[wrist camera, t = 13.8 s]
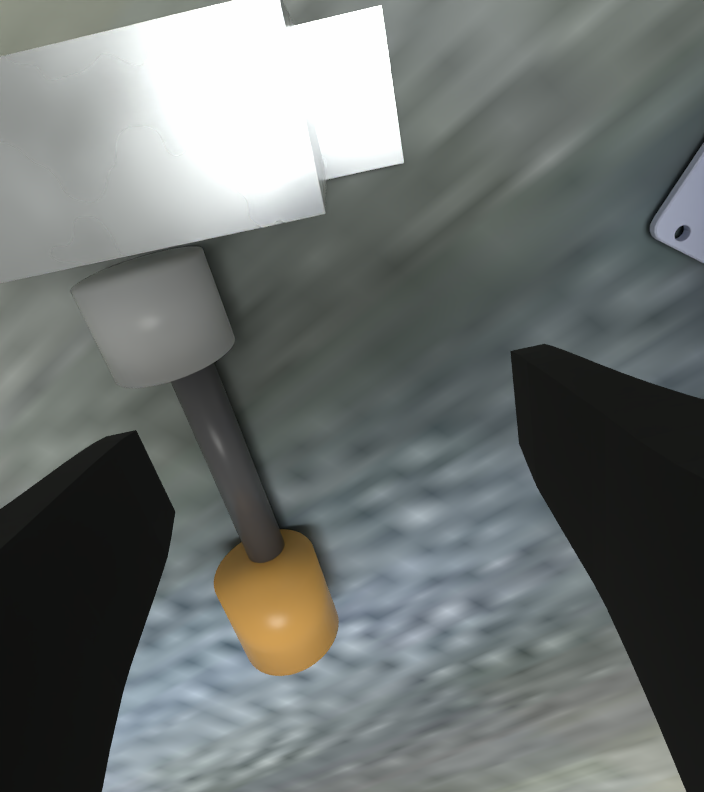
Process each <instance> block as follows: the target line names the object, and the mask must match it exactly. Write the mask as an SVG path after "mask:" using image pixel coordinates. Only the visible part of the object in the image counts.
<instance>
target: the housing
mask: <svg viewBox="0 0 704 792" xmlns="http://www.w3.org/2000/svg"><path fill="white" fill-rule="evenodd" d="M400 163H404V159H403V152H402V145H401V138H400V131H399V124H398V117H397V110H396V103H395V96H394V89H393V82H392V75H391V68H390V61H389V54H388V47H387V41H386V34H385V27H384V20H383V13H382V6H377V7H372V8H368V9H364V10H360V11H355V12H351V13H347V14H343V15H338V16H334V17H330V18H326V19H321V20H317V21H313V22H308V23H304V24H300V25H296V26H294V24H293V21H292V19H291V17H290V15H289V13H288V11H287V9H286V7H285V5H284V3H283V0H234V1H230V2H225V3H221V4H217V5H213V6H209V7H205V8H200V9H196V10H192V11H188V12H184V13H180V14H175V15H171V16H167V17H163V18H159V19H155V20H150V21H146V22H142V23H138V24H134V25H130V26H125V27H121V28H117V29H113V30H109V31H104V32H100V33H96V34H92V35H88V36H84V37H79V38H75V39H71V40H67V41H63V42H59V43H54V44H50V45H46V46H42V47H38V48H34V49H29V50H25V51H21V52H17V53H13V54H8V55H4V56H0V283H4V282H9V281H13V280H18V279H23V278H28V277H32V276H37V275H42V274H46V273H51V272H56V271H60V270H65V269H70V268H74V267H79V266H84V265H88V264H93V263H98V262H102V261H107V260H112V259H117V258H121V257H126V256H131V255H135V254H140V253H145V252H149V251H154V250H159V249H163V248H168V247H173V246H177V245H182V244H187V243H191V242H196V241H201V240H205V239H210V238H215V237H220V236H224V235H229V234H234V233H238V232H243V231H248V230H252V229H257V228H262V227H266V226H271V225H276V224H280V223H285V222H290V221H294V220H299V219H304V218H309V217H313V216H318V215H323V214H325V213H326V180H327V179H331V178H336V177H340V176H345V175H350V174H354V173H359V172H364V171H368V170H373V169H377V168H382V167H387V166H391V165H396V164H400Z"/></svg>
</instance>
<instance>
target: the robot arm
mask: <svg viewBox="0 0 704 792" xmlns="http://www.w3.org/2000/svg"><path fill="white" fill-rule="evenodd" d="M680 226H684V231H683V234H682V235H681V236H680V237H678V238H676V239H675V235H674V234H675V232H676V230H677V229H678V228H679V227H680ZM650 233H651V235H652V236H653V237H654V238H655V239H656V240H658V241H660V242H662V243H664V244H666V245H668V246H670V247H672V248H674V249H676V250H678V251H680V252H682V253H684V254H686V255H688V256H690V257H692V258H694V259H696V260H698V261H700V262H702V263H704V143H703V144H702V146H701V147H700V149H699V150H698V152H697V153H696V155H695V156H694V158H693V159H692V161H691V162H690V164H689V165H688V167H687V168H686V170H685V171H684V173H683V174H682V176H681V177H680V179H679V180H678V182H677V183H676V185H675V186H674V188H673V189H672V191H671V192H670V194H669V195H668V197H667V198H666V200H665V201H664V203H663V204H662V206H661V207H660V209H659V210H658V212H657V213H656V215H655V216H654V218H653V220H652V222H651V224H650ZM511 362H512V372H513V383H514V394H515V405H516V416H517V426H518V437H519V444H520V447H521V449H522V452H523V454H524V457H525V460H526V462H527V465H528V467H529V469H530V472H531V474H532V476H533V479H534V481H535V483H536V486H537V488H538V489H539V491H540V493H541V495H542V496H543V498H544V500H545V502H546V503H547V505H548V507H549V509H550V510H551V512H552V514H553V515H554V517H555V519H556V521H557V522H558V524H559V526H560V527H561V529H562V531H563V532H564V534H565V536H566V537H567V539H568V541H569V542H570V544H571V546H572V548H573V549H574V551H575V553H576V554H577V556H578V558H579V559H580V561H581V563H582V564H583V566H584V568H585V570H586V571H587V573H588V575H589V576H590V578H591V580H592V581H593V583H594V585H595V587H596V589H597V591H598V592H599V594H600V596H601V598H602V600H603V602H604V604H605V606H606V608H607V610H608V612H609V614H610V616H611V619H612V621H613V623H614V625H615V627H616V629H617V632H618V634H619V636H620V638H621V640H622V643H623V645H624V647H625V649H626V651H627V654H628V656H629V658H630V660H631V662H632V665H633V667H634V669H635V672H636V674H637V676H638V678H639V681H640V683H641V685H642V688H643V690H644V692H645V694H646V697H647V699H648V701H649V704H650V706H651V708H652V711H653V713H654V715H655V717H656V720H657V722H658V724H659V727H660V729H661V732H662V734H663V736H664V739H665V741H666V744H667V746H668V748H669V751H670V753H671V756H672V758H673V760H674V763H675V765H676V768H677V770H678V773H679V775H680V777H681V780H682V782H683V785H684V787H685V789H686V792H704V399H700V398H697V397H693V396H690V395H686V394H683V393H680V392H677V391H674V390H670V389H667V388H664V387H661V386H658V385H655V384H652V383H649V382H646V381H643V380H640V379H637V378H634V377H632V376H629V375H626V374H624V373H621V372H618V371H616V370H613V369H610V368H608V367H605V366H603V365H600V364H598V363H595V362H593V361H590V360H588V359H585V358H583V357H580V356H578V355H575V354H572V353H570V352H567V351H565V350H562V349H559V348H556V347H553V346H550V345H546V344H542V345H537V346H532V347H527V348H523V349H518V350H513V351H511ZM174 517H175V510H174V508H173V506H172V504H171V502H170V500H169V498H168V495H167V493H166V491H165V489H164V487H163V485H162V483H161V481H160V479H159V477H158V475H157V473H156V470H155V468H154V466H153V464H152V462H151V460H150V458H149V456H148V454H147V452H146V450H145V448H144V445H143V443H142V441H141V439H140V437H139V435H138V433H137V431H136V430H135V431H130V432H125V433H121V434H116V435H111V436H106V437H105V438H103V439H101V440H99V441H97V442H95V443H93V444H92V445H90V446H89V447H87V448H85V449H84V450H82V451H81V452H79V453H78V454H77V455H75V456H74V457H72V458H71V459H69V460H68V461H66V462H65V463H64V464H62V465H61V466H60V467H58V468H57V469H55V470H54V471H53V472H51V473H50V474H48V475H47V476H46V477H44V478H43V479H42V480H40V481H39V482H37V483H36V484H35V485H33V486H32V487H31V488H29V489H28V490H27V491H25V492H24V493H22V494H21V495H20V496H18V497H17V498H16V499H14V500H13V501H11V502H10V503H8V504H7V505H6V506H4V507H3V508H1V509H0V792H102V788H103V783H104V778H105V773H106V767H107V762H108V757H109V752H110V747H111V743H112V738H113V734H114V730H115V725H116V721H117V716H118V712H119V708H120V703H121V699H122V694H123V690H124V687H125V684H126V680H127V677H128V674H129V670H130V667H131V664H132V661H133V658H134V655H135V652H136V649H137V646H138V643H139V640H140V637H141V635H142V632H143V629H144V626H145V623H146V620H147V617H148V614H149V611H150V608H151V605H152V603H153V600H154V597H155V594H156V591H157V588H158V585H159V582H160V579H161V576H162V573H163V570H164V566H165V563H166V560H167V557H168V552H169V546H170V541H171V536H172V530H173V523H174Z"/></svg>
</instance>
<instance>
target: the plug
mask: <svg viewBox="0 0 704 792" xmlns="http://www.w3.org/2000/svg"><path fill="white" fill-rule="evenodd" d="M71 293H72V295H73V297H74V299H75V301H76V303H77V305H78V307H79V309H80V311H81V313H82V315H83V317H84V319H85V321H86V323H87V325H88V327H89V330H90V332H91V334H92V336H93V338H94V340H95V342H96V344H97V346H98V348H99V350H100V352H101V354H102V356H103V358H104V360H105V362H106V364H107V366H108V368H109V370H110V372H111V374H112V376H113V378H114V380H115V382H116V383H117V384H118V385H120V386H122V387H126V388H143V387H150V386H155V385H160V384H164V383H168V382H171V383H172V386H173V388H174V390H175V392H176V395H177V397H178V399H179V401H180V404H181V406H182V408H183V410H184V413H185V415H186V417H187V420H188V422H189V424H190V426H191V429H192V431H193V433H194V435H195V438H196V440H197V442H198V444H199V447H200V449H201V451H202V453H203V456H204V458H205V460H206V463H207V465H208V467H209V469H210V472H211V474H212V476H213V478H214V481H215V483H216V485H217V487H218V490H219V492H220V494H221V496H222V499H223V501H224V503H225V505H226V508H227V510H228V512H229V515H230V517H231V519H232V521H233V524H234V526H235V528H236V530H237V533H238V535H239V537H240V539H241V543H240V544H238V545H237V546H236V547H234V548H233V549H232V550H231V551H230V552H229V553H228V554H227V555H226V556H225V557H224V559H223V560H222V561H221V563H220V565H219V566H218V569H217V571H216V574H215V577H214V589H215V592H216V595H217V597H218V599H219V601H220V603H221V605H222V607H223V609H224V611H225V613H226V615H227V617H228V619H229V621H230V623H231V625H232V627H233V629H234V631H235V633H236V635H237V637H238V639H239V641H240V643H241V645H242V647H243V649H244V651H245V653H246V655H247V657H248V659H249V661H250V662H251V663H252V665H253V666H254V667H255V668H256V669H258V670H259V671H261V672H263V673H265V674H269V675H275V676H284V675H291V674H294V673H298V672H300V671H303V670H305V669H307V668H309V667H310V666H312V665H313V664H315V663H316V662H317V661H318V660H320V659H321V658H322V657H323V656H324V655H325V654H326V652H327V651H328V650H329V649H330V647H331V645H332V644H333V642H334V640H335V638H336V635H337V631H338V622H339V621H338V615H337V611H336V609H335V606H334V603H333V600H332V598H331V595H330V592H329V589H328V587H327V584H326V581H325V578H324V575H323V573H322V570H321V567H320V564H319V562H318V559H317V556H316V553H315V551H314V548H313V545H312V543H311V542H310V540H309V539H308V538H307V537H306V536H305V535H303V534H301V533H299V532H297V531H293V530H287V529H279V527H278V524H277V522H276V519H275V517H274V514H273V511H272V509H271V506H270V504H269V501H268V499H267V496H266V494H265V491H264V489H263V486H262V483H261V481H260V478H259V476H258V473H257V471H256V468H255V466H254V463H253V461H252V458H251V455H250V453H249V450H248V448H247V445H246V443H245V440H244V438H243V435H242V433H241V430H240V427H239V425H238V422H237V420H236V417H235V415H234V412H233V410H232V407H231V405H230V402H229V399H228V397H227V394H226V392H225V389H224V387H223V384H222V382H221V379H220V377H219V374H218V371H217V369H216V366H215V364H214V362H215V361H217V360H218V359H220V358H221V357H222V356H224V355H225V354H226V353H227V352H228V351H229V350H230V349H231V348H232V346H233V345H234V343H235V336H234V334H233V331H232V328H231V325H230V323H229V320H228V317H227V314H226V312H225V309H224V306H223V303H222V301H221V298H220V295H219V292H218V290H217V287H216V284H215V281H214V279H213V276H212V273H211V271H210V268H209V265H208V262H207V260H206V257H205V254H204V251H203V249H202V248H201V247H198V246H187V247H179V248H173V249H168V250H164V251H159V252H155V253H152V254H148V255H144V256H141V257H138V258H135V259H131V260H129V261H126V262H123V263H120V264H117V265H115V266H112V267H109V268H107V269H104V270H102V271H100V272H98V273H95V274H93V275H91V276H89V277H87V278H85V279H84V280H82V281H80V282H79V283H77V284H76V285H75V286H73V287H72V289H71Z"/></svg>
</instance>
